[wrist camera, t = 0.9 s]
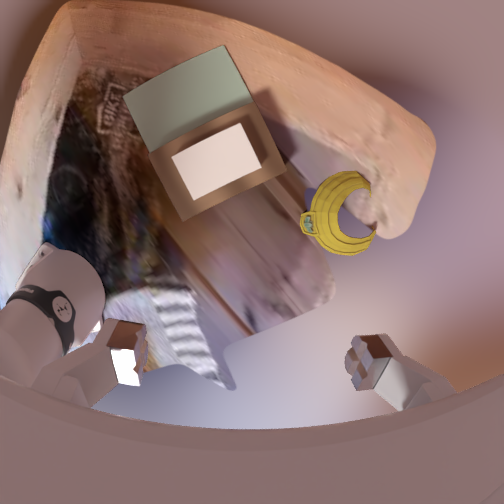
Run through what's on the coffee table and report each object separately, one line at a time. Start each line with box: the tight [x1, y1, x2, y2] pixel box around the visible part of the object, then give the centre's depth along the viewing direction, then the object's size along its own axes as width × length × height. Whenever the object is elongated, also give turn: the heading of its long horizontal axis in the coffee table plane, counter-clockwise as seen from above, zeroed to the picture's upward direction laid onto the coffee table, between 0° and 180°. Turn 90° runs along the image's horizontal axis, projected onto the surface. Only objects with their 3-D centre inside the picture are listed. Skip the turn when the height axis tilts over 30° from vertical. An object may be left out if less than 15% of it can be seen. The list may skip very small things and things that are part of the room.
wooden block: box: [148, 101, 287, 222], centre depth 35 cm, size 15×10×4 cm, turn 115°
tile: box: [172, 123, 262, 200], centre depth 32 cm, size 9×6×2 cm, turn 115°
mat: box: [123, 45, 254, 153], centre depth 33 cm, size 16×10×1 cm, turn 115°
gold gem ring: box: [300, 171, 376, 256], centre depth 40 cm, size 13×13×4 cm
